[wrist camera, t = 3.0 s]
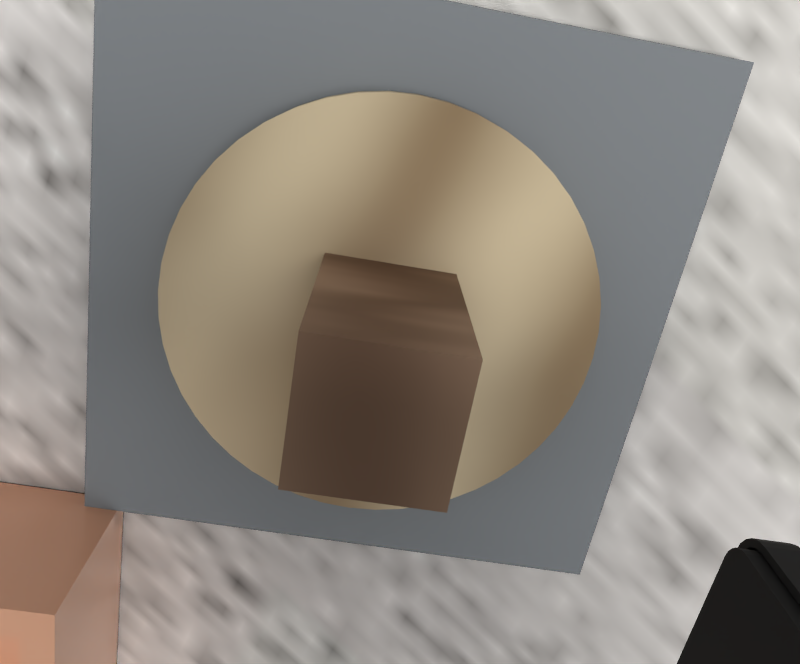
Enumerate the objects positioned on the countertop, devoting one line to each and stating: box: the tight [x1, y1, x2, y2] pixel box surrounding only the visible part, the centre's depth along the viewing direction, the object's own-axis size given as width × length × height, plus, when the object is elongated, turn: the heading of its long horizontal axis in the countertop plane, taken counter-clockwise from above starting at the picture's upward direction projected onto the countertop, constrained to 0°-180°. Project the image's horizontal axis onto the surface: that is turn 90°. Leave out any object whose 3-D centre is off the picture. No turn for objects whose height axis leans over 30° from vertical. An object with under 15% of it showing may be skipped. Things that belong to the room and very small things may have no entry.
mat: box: [84, 0, 754, 574], centre depth 20 cm, size 16×16×1 cm
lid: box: [158, 91, 601, 513], centre depth 16 cm, size 12×12×7 cm
